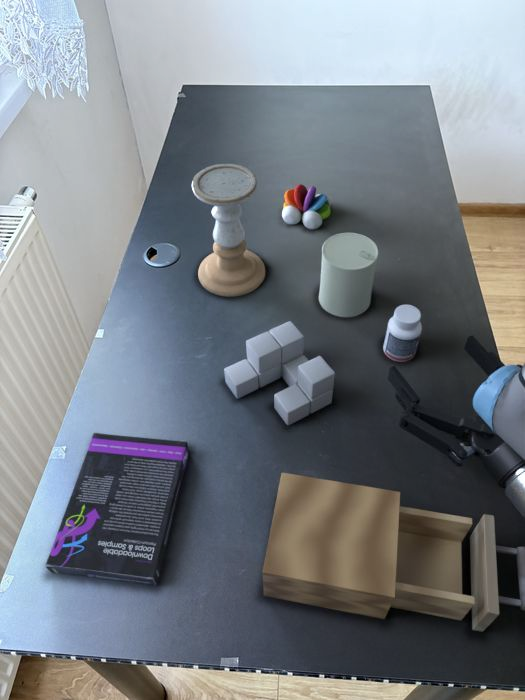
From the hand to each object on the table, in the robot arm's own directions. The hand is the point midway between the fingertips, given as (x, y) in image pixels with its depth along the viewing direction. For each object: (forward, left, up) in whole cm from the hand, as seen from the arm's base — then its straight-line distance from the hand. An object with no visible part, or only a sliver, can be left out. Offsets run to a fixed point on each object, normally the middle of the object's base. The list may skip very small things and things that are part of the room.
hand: (430, 356), depth 88 cm
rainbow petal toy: (+24, -38, -7) cm, 45 cm away
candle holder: (+35, -19, -7) cm, 40 cm away
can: (+14, -16, -7) cm, 22 cm away
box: (+39, +29, -7) cm, 49 cm away
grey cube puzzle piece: (+22, +6, -7) cm, 24 cm away
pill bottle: (+4, -6, -7) cm, 10 cm away
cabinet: (+11, +30, -6) cm, 33 cm away
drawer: (-3, +30, -5) cm, 31 cm away
